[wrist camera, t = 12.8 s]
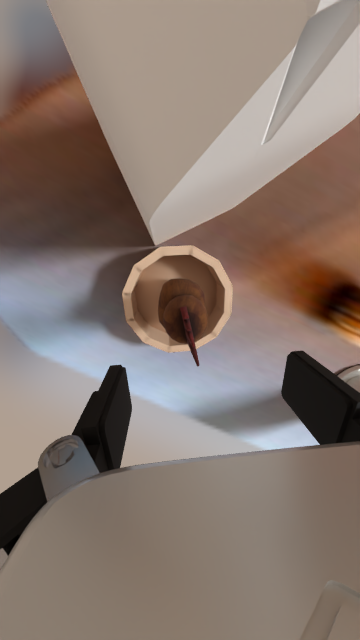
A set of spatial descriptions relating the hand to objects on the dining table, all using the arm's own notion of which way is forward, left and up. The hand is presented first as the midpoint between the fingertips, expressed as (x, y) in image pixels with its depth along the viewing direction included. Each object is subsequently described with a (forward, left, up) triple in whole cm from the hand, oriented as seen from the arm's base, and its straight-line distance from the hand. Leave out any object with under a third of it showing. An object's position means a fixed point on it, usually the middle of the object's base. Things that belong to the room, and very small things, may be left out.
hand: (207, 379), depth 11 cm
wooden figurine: (0, 0, -19) cm, 19 cm away
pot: (0, 0, -20) cm, 20 cm away
